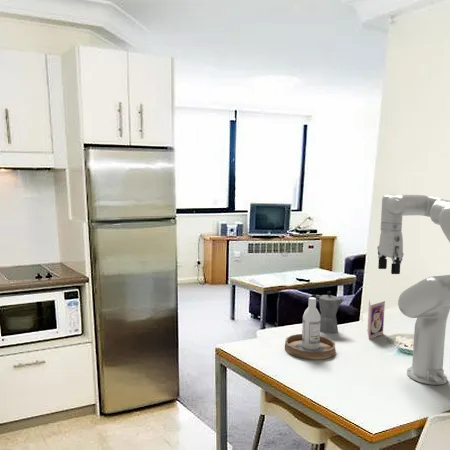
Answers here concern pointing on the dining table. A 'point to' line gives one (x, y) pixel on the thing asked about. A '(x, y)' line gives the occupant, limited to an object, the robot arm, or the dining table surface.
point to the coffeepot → (328, 312)
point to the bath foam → (311, 326)
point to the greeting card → (375, 319)
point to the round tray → (295, 348)
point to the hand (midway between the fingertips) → (388, 271)
